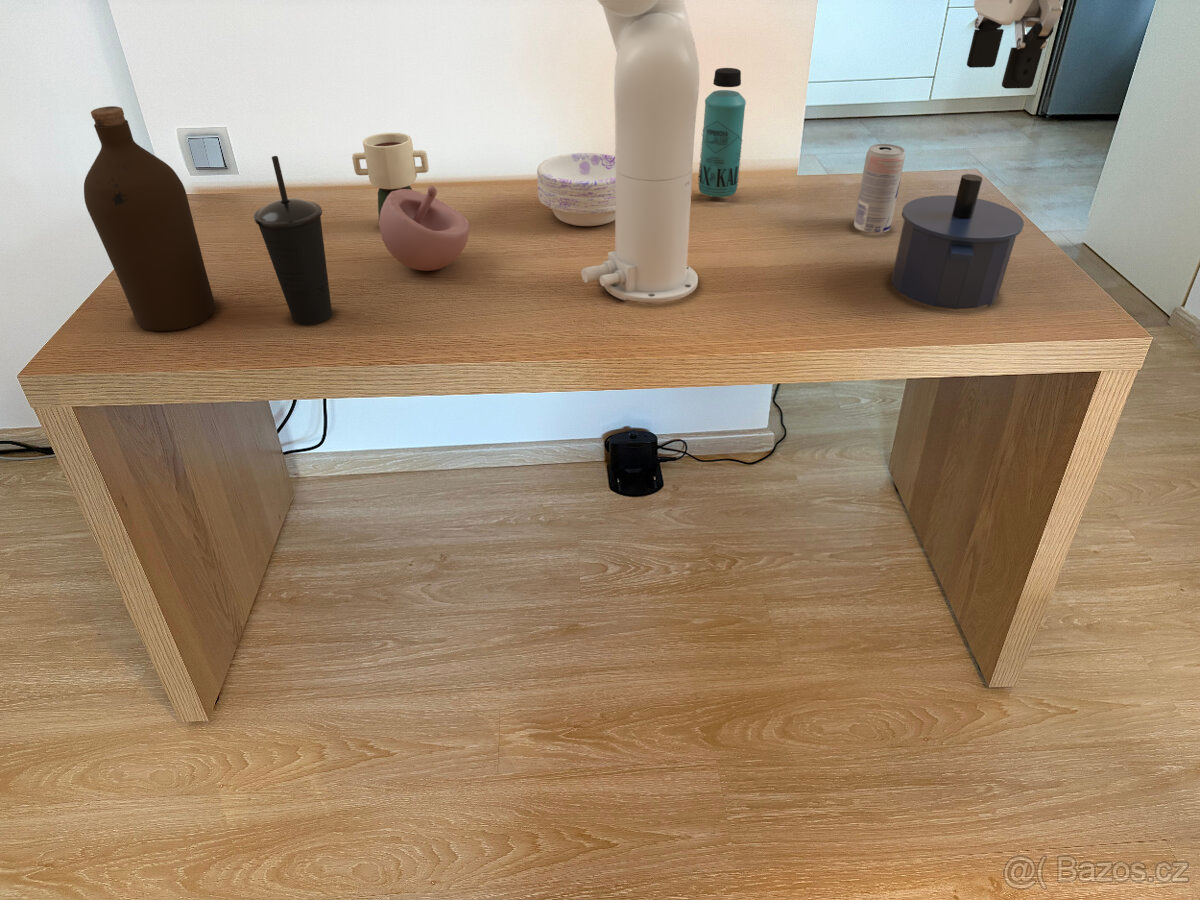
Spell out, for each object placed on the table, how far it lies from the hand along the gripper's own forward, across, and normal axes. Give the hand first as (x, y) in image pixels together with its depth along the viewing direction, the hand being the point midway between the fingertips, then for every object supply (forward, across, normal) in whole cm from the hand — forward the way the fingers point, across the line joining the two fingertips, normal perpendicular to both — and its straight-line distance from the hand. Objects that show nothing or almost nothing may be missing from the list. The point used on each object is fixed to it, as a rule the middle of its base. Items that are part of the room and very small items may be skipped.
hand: (997, 76), depth 95 cm
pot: (+26, 0, 0) cm, 26 cm away
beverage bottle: (+26, -35, -25) cm, 50 cm away
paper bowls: (+26, -29, -46) cm, 60 cm away
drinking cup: (+26, +3, -82) cm, 86 cm away
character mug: (+26, -27, -75) cm, 84 cm away
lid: (+17, 0, 0) cm, 17 cm away
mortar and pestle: (+26, -11, -69) cm, 75 cm away
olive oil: (+26, +2, -99) cm, 103 cm away
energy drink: (+26, -21, -3) cm, 34 cm away
